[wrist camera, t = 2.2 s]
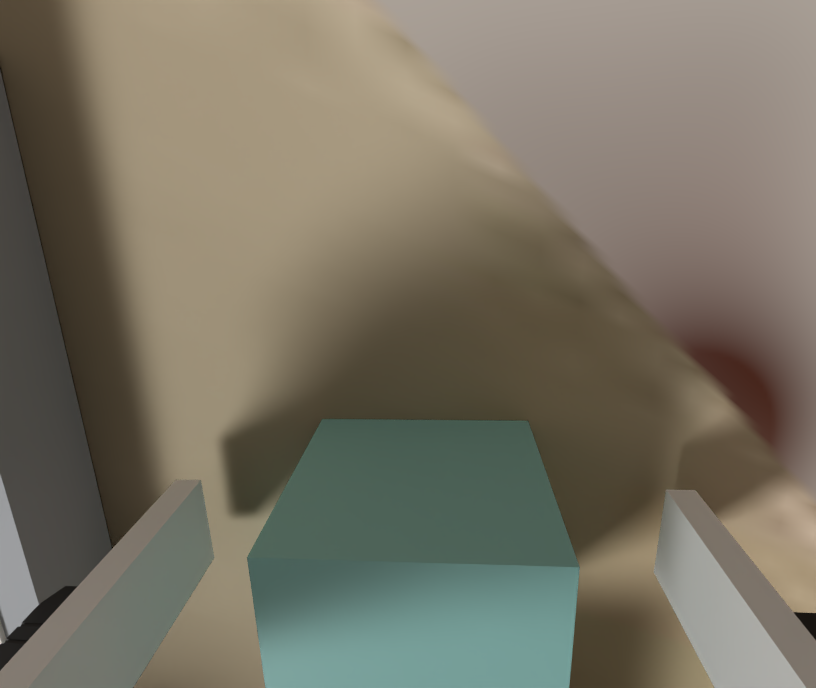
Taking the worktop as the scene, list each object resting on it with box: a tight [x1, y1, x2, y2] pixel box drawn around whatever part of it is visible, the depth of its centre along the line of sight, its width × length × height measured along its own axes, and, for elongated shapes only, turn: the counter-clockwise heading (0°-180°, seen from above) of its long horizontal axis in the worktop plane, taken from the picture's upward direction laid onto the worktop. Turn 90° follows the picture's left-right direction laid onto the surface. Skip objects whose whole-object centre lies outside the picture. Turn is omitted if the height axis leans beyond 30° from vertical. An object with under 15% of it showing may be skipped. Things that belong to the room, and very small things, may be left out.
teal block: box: [247, 419, 580, 688], centre depth 13 cm, size 6×6×6 cm
